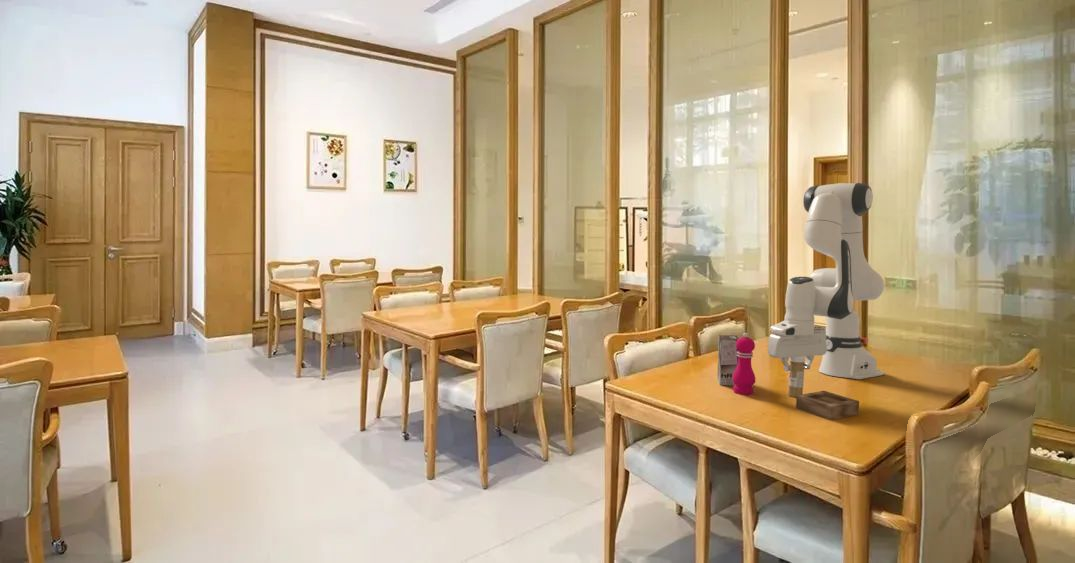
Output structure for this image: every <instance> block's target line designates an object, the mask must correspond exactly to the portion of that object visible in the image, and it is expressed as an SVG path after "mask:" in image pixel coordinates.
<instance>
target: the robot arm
mask: <svg viewBox="0 0 1075 563" xmlns="http://www.w3.org/2000/svg"><path fill="white" fill-rule="evenodd" d="M873 201H874V194H873V190H872V188H871V187H870V186H869V185H868V183H862V182H857V183H852V182H850V183H848V182H839V183H838V182H837V183H832V184H831V183H830V184H824V185H820V184H817V185H813V186H810V187H809V188H807V190H806V191H805V192H804V195H803V208H804V210H805V211H806V212H807V216H806V219H805V224H804V230H803V231H804V233H803V237H804V241H805V244H807V245H808V246H809V247H810V248H812V250H814V251H816V252H818V253H820V254H822V255H826V256H827V257H829V258H831V259H832V260H833V261H834V262H835V263H834V264H835V268H833V267H826V268H825V267H824V268H818V269H814V270H813V271H812V273H810V276H794V277H792V278H790V279H789V280H788V283H787V286H786V291H785V300H784V301H785V304H784V307H785V314H784V320H782V321H780V322H778V323H775V324H773V325H771V326H770V329H769V332H770V333H771V334H770V336H769V337H768V344H767V354H768V356H769V357H771V358H774V359H780V361H781V363H782V364H783V370H784V371H785V372H790V371H791V365H790V363H789V362H790V357H800V356H805V362H804V370H811V365H812V363H813V361H814V359H815V356H821V362H820V364H819V365H820V366H819V369H818V372H820V373H822V374H824V375H826V376H831V377H832V376H833V377H839V378H848V379H854V380H855V379H856V380H863V379H868V378H875V377H879V376H883V375H885V374H884V373H885V372H884V371H883V370H880V369H878V368H877V366H878V365H877V358H876V356H874V355H873V354H871V353H870V352H869V351H868V350H867V349H865V348H864V347H863V344H868V343H869V338H866V337H860V326H861V324H860V322H861V319H860V315H859V314H858V313H857V312H856V311H855V310H854V300H855V301H862V302H863V301H873V300H877V299H879V298H880V296H882V294H883V292H884V289H885V282H884V279H883V277H882V276H881V274H880V273H878V272H877V271H876V270H875V269H873V268H872V267H871V265H870V264H869V263H868V261H867V258H866V257H865V253H864V243H863V230H864V229H863V227H864V226H863V218H862V216H863V214H866V213H867V212H868V211H869V210H870V209H871V207H872V205H873ZM815 316H817V317H825V328H824V327H823V326H815ZM788 361H789V362H788Z"/></svg>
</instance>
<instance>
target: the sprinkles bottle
mask: <svg viewBox="0 0 1075 563" xmlns="http://www.w3.org/2000/svg"><path fill="white" fill-rule="evenodd" d="M805 362H806V356H800V357H789V365H791V371H788V372H789V375H788V393H787V394H788V396H789V397H793V398H796V397H797V395H802V394H804V393H803V392H804V382H805V381H804V380H805V369H804V363H805Z"/></svg>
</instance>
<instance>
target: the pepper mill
mask: <svg viewBox="0 0 1075 563" xmlns="http://www.w3.org/2000/svg"><path fill="white" fill-rule="evenodd" d="M738 338H739V337H738ZM755 347H756V344H755V341H754V340H753V339H752V338H750V337H749V333H748V332H743V334H742V337H740V338H739V339H738V340H737V341H736V348H737V350H738V351H737V356H738V365H737V367H736V369H735V371H734V374H733V378H732V380H733V382H734V383H735V385H734V386H733V393H735V394H737V395H738V394H739V395H741V396H742V395H744V396H746V395H747V396H748V395H753V394H754V387H753V386H754V385H755V383H756V375H755V372H754V370H753V367H752V358H753V357H754V356H753V355H754V353H753V351H754V350H755Z"/></svg>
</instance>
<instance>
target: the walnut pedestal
mask: <svg viewBox="0 0 1075 563" xmlns="http://www.w3.org/2000/svg"><path fill="white" fill-rule="evenodd" d="M795 398H796V401H795V402H796V403H795V408H796V409H797V410H800V411H803V412H806V413H809V414H811V415H815V416H817V417H819V418H820V417H821V418H823V419H826V420H829V421H834V420H839V419H843V418H847V417H853V416H857V415H858V416H859V414H860V413H859V412H860V400H856V399H853V398H850V397H847V396H843V395H839V394H836V393H834V392H833V393H832V392H829V391H827V390H821V391H820V390H819V391H814V392H808V393H803V394H802V395H797V397H795Z"/></svg>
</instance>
